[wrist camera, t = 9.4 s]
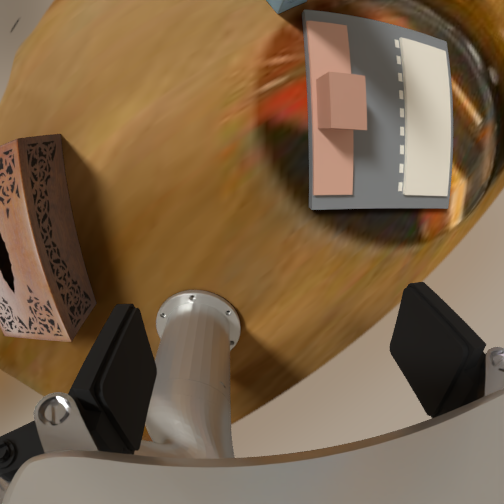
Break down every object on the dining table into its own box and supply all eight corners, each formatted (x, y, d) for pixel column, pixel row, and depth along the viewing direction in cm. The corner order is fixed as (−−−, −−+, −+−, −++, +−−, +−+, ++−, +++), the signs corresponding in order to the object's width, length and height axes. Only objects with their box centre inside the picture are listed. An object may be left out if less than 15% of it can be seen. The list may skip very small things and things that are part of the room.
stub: (350, 193, 35) (369, 204, 30) (312, 194, 35) (326, 205, 30) (345, 26, 27) (362, 12, 22) (306, 22, 27) (318, 5, 21)
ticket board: (442, 205, 38) (450, 209, 36) (308, 207, 37) (313, 211, 35) (440, 43, 28) (448, 41, 26) (301, 13, 27) (305, 7, 25)
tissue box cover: (-4, 157, 31) (-46, 169, 22) (61, 133, 31) (17, 138, 22) (33, 303, 41) (4, 335, 31) (97, 302, 41) (71, 341, 32)
